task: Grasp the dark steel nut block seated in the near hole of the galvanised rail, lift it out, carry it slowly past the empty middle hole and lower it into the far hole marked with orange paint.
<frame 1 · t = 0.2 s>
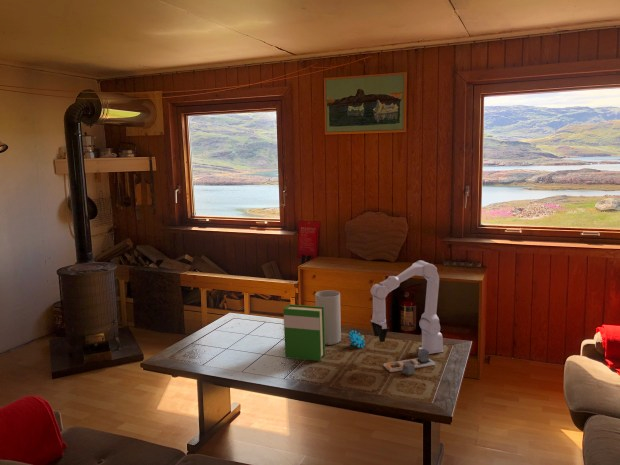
hand: (379, 338, 237), 10 cm above the table, fingers open, 7 cm apart
cylinder vase: (328, 341, 264), on the table
gear: (357, 346, 255), on the table
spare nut: (408, 373, 223), on the table
hardback book: (305, 356, 245), on the table
rail: (409, 365, 231), on the table
cage nut: (423, 363, 233), resting in rail
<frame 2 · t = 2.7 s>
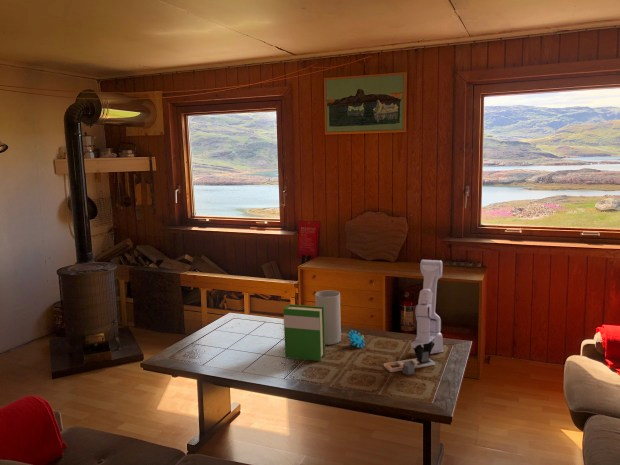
hand: (423, 359, 232), 2 cm above the table, fingers closed on cage nut, 4 cm apart
cage nut: (423, 363, 233), resting in rail, touching gripper
everything else where it was.
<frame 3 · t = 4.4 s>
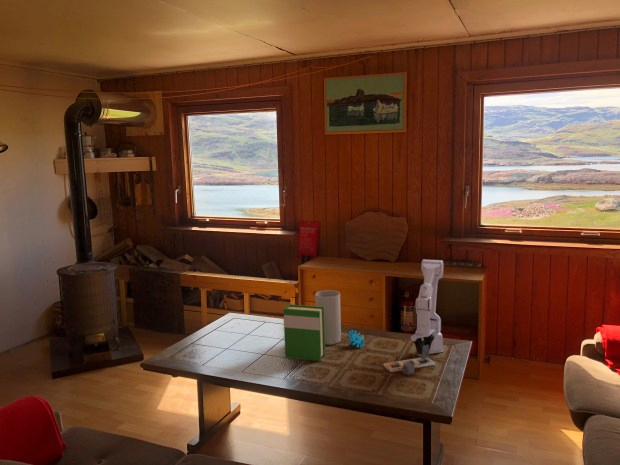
hand: (423, 352, 232), 5 cm above the table, fingers closed on cage nut, 4 cm apart
cage nut: (423, 356, 232), point 3 cm above the table, touching gripper
everything else where it was.
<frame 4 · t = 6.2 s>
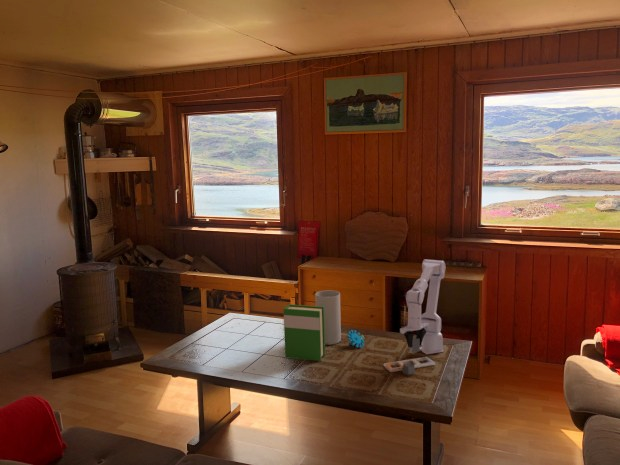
hand: (414, 345, 230), 9 cm above the table, fingers closed on cage nut, 4 cm apart
cage nut: (414, 350, 230), point 7 cm above the table, touching gripper
everything else where it was.
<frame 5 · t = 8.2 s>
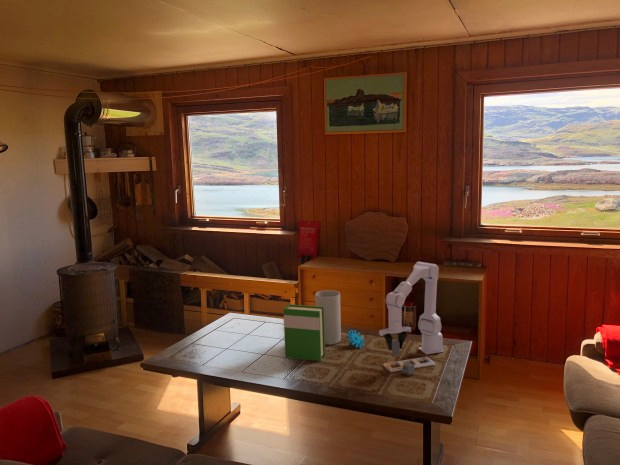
hand: (395, 348, 227), 9 cm above the table, fingers closed on cage nut, 4 cm apart
cage nut: (395, 353, 227), point 7 cm above the table, touching gripper
everything else where it was.
when the fingers open (3 cm above the table, at t = 10.0 s): cage nut drops 1 cm, resting in rail.
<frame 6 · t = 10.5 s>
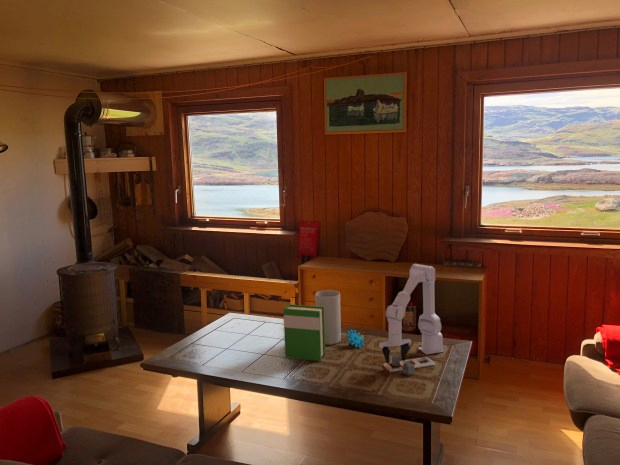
hand: (395, 361, 228), 3 cm above the table, fingers open, 7 cm apart
cage nut: (395, 367, 229), resting in rail
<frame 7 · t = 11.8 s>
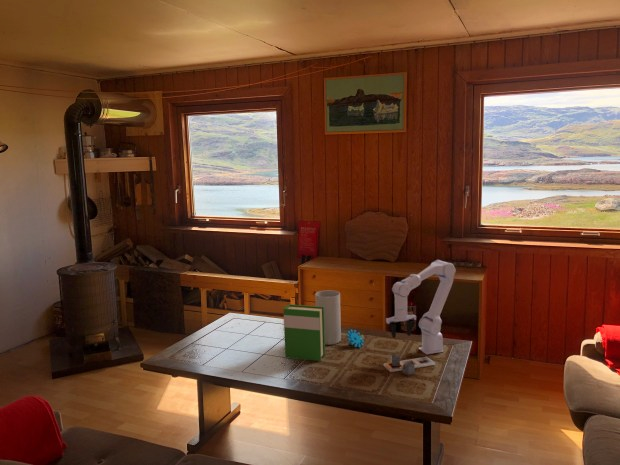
hand: (401, 336, 238), 10 cm above the table, fingers open, 7 cm apart
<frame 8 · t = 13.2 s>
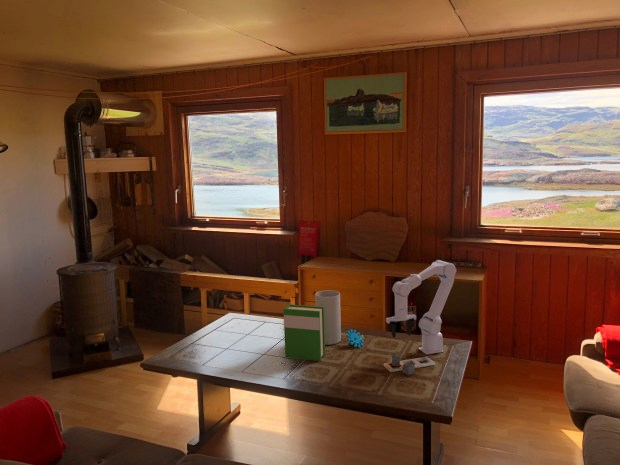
hand: (401, 335, 239), 10 cm above the table, fingers open, 7 cm apart
at the end: cage nut 0.0 cm from the target spot on the rail, point 0.0 cm above the rail's base; cage nut tilted 0°; the gripper is holding nothing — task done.
